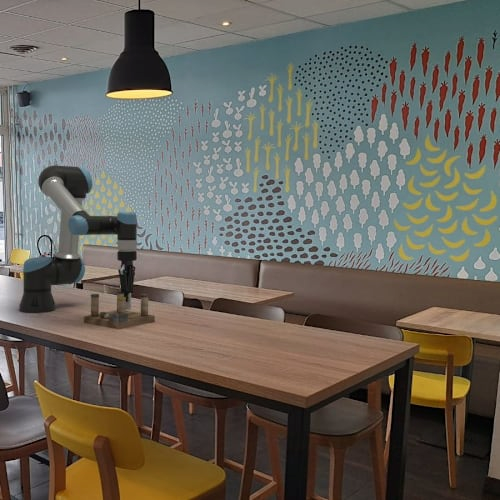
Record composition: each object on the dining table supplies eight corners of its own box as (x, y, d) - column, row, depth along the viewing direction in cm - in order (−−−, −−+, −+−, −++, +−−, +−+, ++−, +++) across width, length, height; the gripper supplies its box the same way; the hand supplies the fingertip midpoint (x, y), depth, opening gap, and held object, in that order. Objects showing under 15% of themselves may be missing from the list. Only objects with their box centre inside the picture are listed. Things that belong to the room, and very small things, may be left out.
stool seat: (83, 322, 234) (84, 294, 233) (120, 315, 250) (121, 289, 249) (118, 329, 223) (118, 300, 222) (154, 321, 239) (155, 294, 238)
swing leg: (98, 317, 231) (98, 295, 230) (103, 315, 233) (103, 294, 233) (122, 320, 226) (122, 298, 225) (127, 319, 229) (127, 297, 228)
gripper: (123, 249, 237) (124, 306, 238) (111, 251, 224) (112, 311, 226) (141, 249, 236) (141, 306, 237) (130, 252, 223) (130, 312, 225)
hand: (127, 309), depth 232 cm, fingers closed
